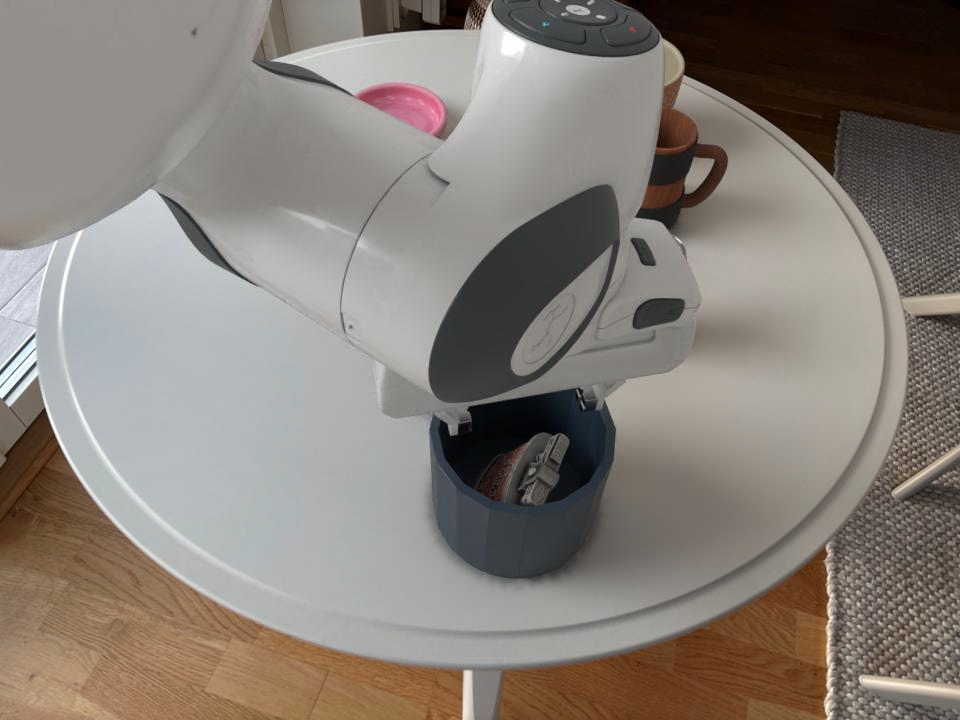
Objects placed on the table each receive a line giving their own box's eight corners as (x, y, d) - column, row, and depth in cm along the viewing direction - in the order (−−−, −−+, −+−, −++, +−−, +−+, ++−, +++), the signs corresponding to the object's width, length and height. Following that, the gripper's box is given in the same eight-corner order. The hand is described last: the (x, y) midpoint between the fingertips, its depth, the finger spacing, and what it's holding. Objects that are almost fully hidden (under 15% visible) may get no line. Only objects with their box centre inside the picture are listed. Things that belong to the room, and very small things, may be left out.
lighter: (484, 551, 62) (550, 530, 54) (450, 529, 62) (512, 504, 54) (522, 470, 67) (588, 439, 59) (491, 448, 66) (553, 414, 58)
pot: (451, 593, 61) (450, 531, 52) (421, 448, 68) (416, 371, 59) (614, 559, 63) (641, 493, 54) (567, 422, 71) (583, 344, 61)
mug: (708, 250, 84) (739, 163, 75) (597, 235, 85) (615, 148, 76) (706, 197, 89) (736, 110, 80) (602, 184, 90) (619, 96, 81)
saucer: (459, 156, 93) (459, 134, 90) (357, 175, 90) (354, 152, 88) (431, 96, 100) (431, 74, 97) (336, 112, 97) (332, 90, 95)
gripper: (364, 352, 40) (383, 480, 51) (730, 295, 43) (674, 427, 54) (350, 266, 44) (370, 402, 55) (688, 218, 47) (643, 357, 58)
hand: (524, 414), depth 55 cm, fingers open, 8 cm apart
